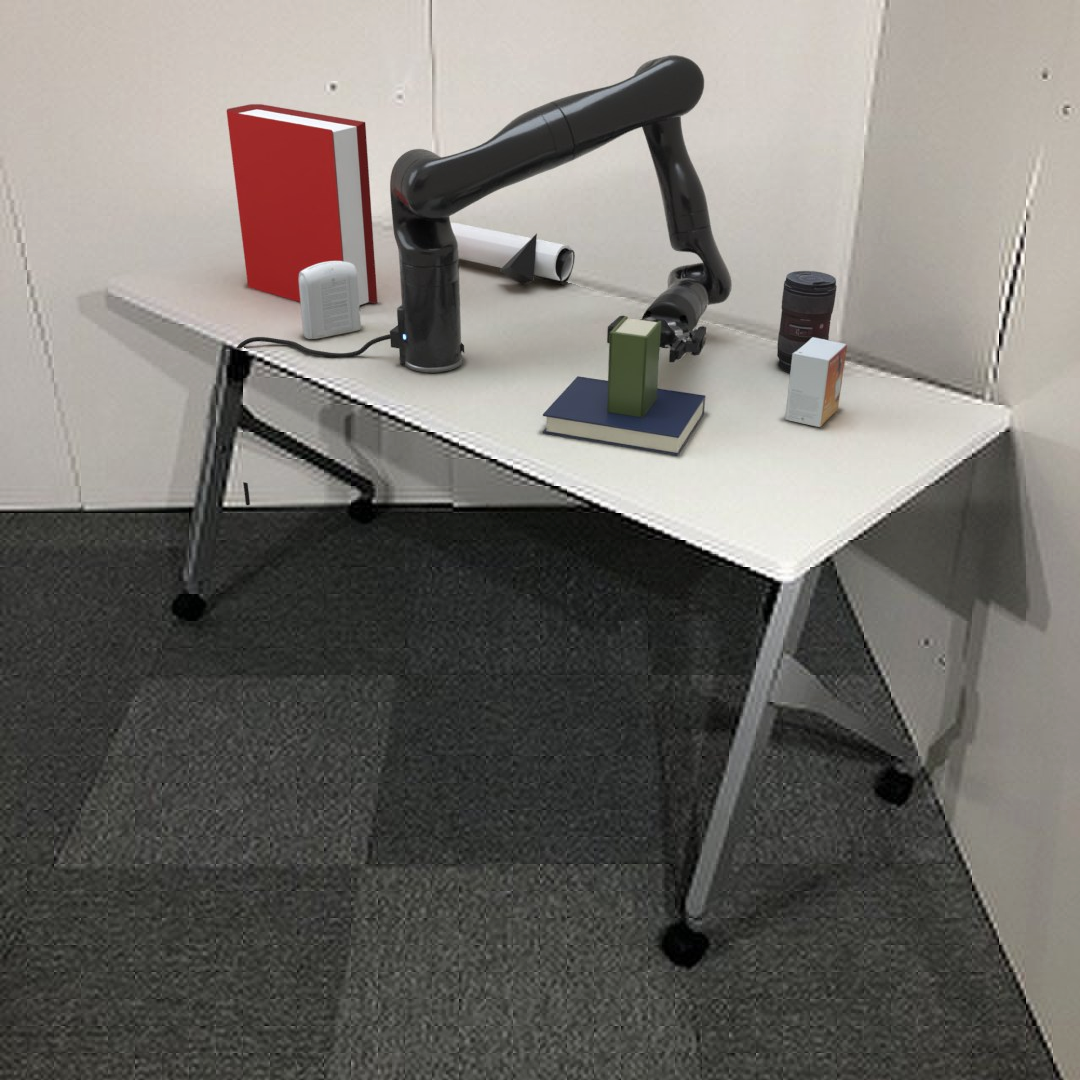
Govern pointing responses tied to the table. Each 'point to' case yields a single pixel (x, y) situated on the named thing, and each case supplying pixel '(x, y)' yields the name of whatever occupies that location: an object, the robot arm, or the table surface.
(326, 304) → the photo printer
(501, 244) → the diploma
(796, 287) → the camera lens
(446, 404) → the table surface
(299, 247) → the book
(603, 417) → the block
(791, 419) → the small box
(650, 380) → the dictionary
